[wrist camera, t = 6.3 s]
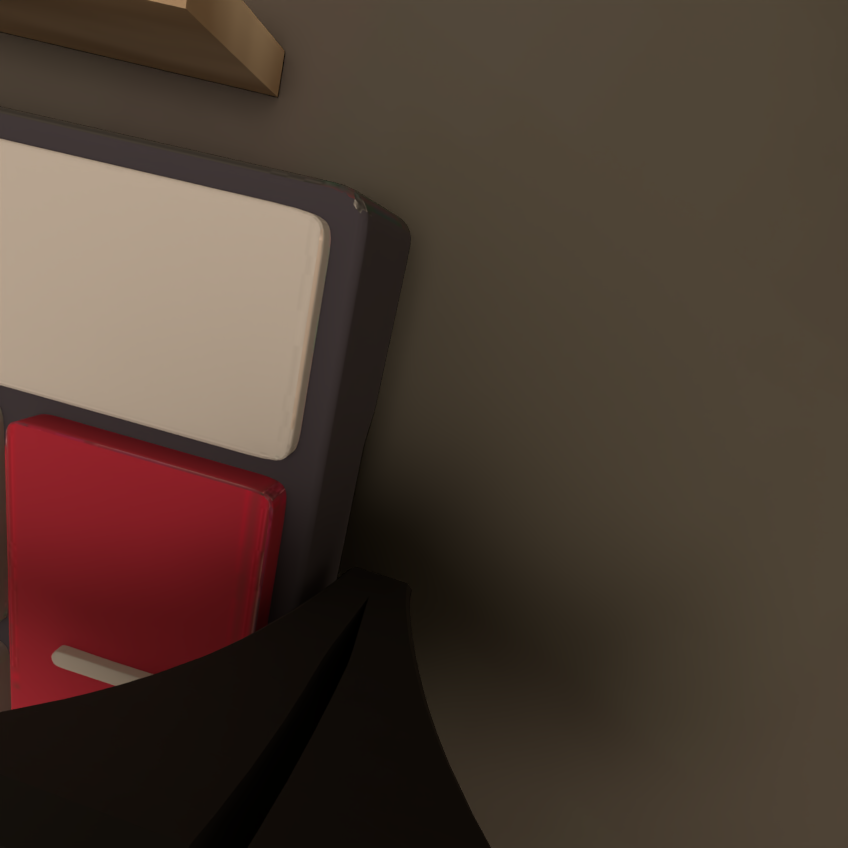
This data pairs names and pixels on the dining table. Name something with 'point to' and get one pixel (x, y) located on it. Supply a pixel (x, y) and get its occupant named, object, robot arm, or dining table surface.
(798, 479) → the dining table surface
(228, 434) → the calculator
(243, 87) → the box
